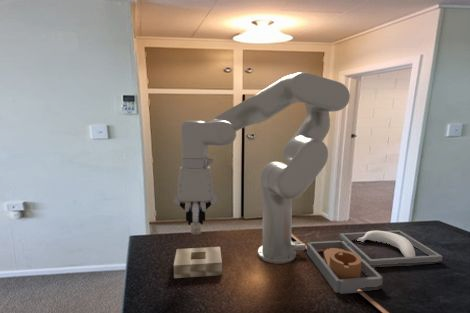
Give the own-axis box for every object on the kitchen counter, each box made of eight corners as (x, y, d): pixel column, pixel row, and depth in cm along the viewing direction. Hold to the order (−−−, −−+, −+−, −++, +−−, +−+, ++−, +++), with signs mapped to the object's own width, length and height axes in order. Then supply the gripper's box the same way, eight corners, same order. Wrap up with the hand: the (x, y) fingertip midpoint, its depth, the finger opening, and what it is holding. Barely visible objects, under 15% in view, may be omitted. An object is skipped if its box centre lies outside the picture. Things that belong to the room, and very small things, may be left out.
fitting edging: (342, 249, 100) (342, 240, 99) (382, 290, 77) (383, 278, 76) (306, 251, 98) (306, 242, 98) (336, 294, 76) (337, 281, 75)
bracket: (363, 289, 78) (365, 266, 77) (331, 287, 79) (332, 264, 78) (347, 256, 95) (348, 236, 94) (321, 255, 96) (322, 235, 95)
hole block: (220, 258, 95) (220, 246, 94) (222, 275, 85) (221, 262, 84) (177, 260, 93) (176, 249, 93) (174, 278, 83) (173, 265, 83)
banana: (426, 263, 90) (381, 265, 89) (389, 239, 108) (352, 241, 107) (427, 248, 89) (381, 250, 88) (390, 227, 108) (352, 228, 107)
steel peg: (200, 230, 89) (200, 199, 87) (200, 234, 86) (200, 202, 84) (191, 230, 88) (190, 199, 87) (190, 234, 85) (190, 202, 84)
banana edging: (399, 236, 110) (399, 230, 109) (441, 263, 90) (442, 256, 90) (339, 239, 107) (339, 233, 107) (369, 268, 87) (370, 261, 87)
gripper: (222, 160, 88) (221, 217, 91) (168, 161, 87) (169, 219, 89) (223, 165, 81) (223, 227, 84) (164, 165, 79) (166, 228, 82)
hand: (195, 222), depth 87 cm, fingers closed on steel peg, 3 cm apart
